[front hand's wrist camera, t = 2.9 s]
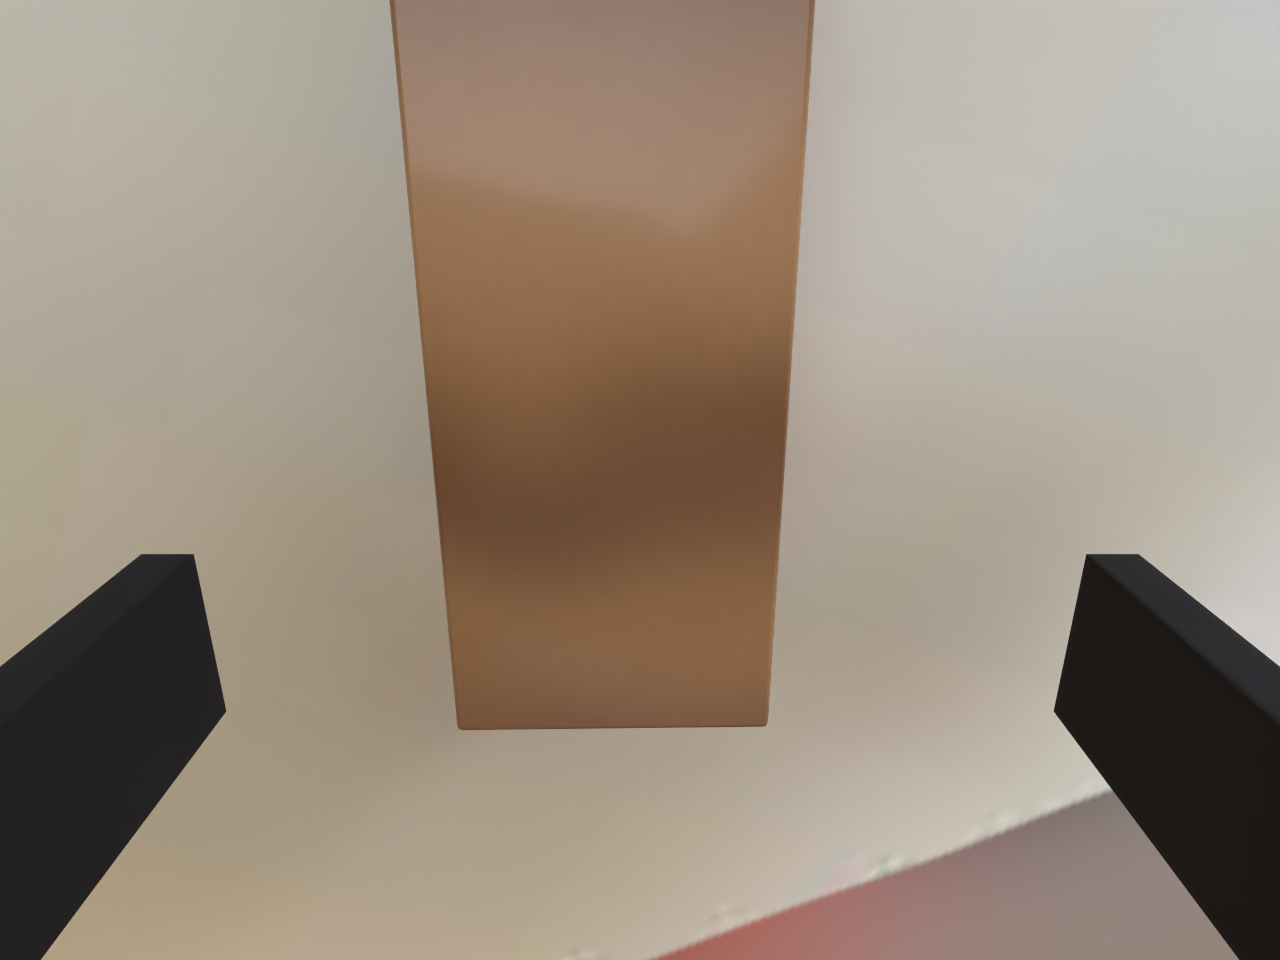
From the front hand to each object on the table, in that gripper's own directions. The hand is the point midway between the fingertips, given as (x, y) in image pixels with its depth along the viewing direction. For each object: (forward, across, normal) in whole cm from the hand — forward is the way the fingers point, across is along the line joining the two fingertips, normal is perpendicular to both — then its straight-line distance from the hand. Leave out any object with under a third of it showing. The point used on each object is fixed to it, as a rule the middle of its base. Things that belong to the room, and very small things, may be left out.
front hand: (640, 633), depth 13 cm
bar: (+10, +1, -9) cm, 14 cm away
